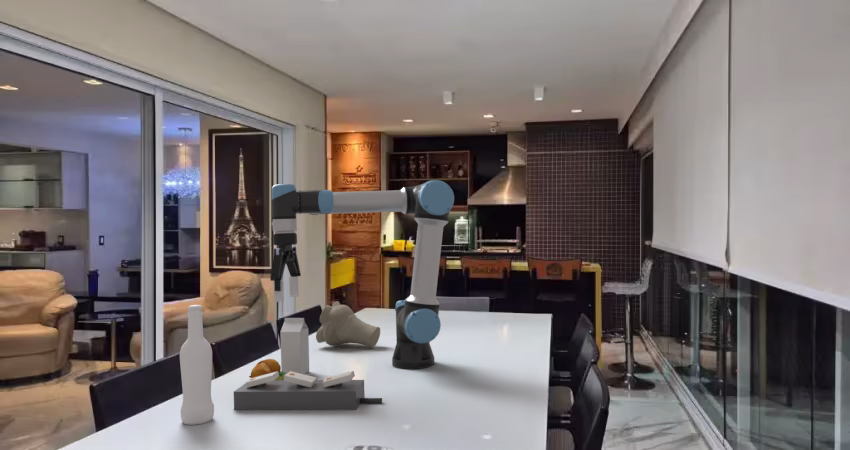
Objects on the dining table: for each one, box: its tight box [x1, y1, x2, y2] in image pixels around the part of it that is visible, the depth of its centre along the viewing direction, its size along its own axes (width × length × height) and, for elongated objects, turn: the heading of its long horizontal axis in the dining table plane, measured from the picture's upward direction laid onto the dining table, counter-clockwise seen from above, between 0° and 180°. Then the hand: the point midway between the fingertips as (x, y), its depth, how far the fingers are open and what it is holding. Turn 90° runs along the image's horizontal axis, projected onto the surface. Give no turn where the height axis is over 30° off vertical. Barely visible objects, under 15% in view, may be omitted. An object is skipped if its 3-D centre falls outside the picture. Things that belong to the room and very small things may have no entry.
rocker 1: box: [244, 371, 279, 388], centre depth 168 cm, size 8×5×2 cm, turn 85°
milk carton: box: [279, 317, 310, 376], centre depth 202 cm, size 7×7×19 cm
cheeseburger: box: [248, 358, 285, 380], centre depth 184 cm, size 10×11×10 cm
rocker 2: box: [284, 371, 318, 387], centre depth 167 cm, size 8×5×2 cm, turn 85°
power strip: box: [233, 379, 383, 411], centre depth 167 cm, size 40×12×6 cm, turn 85°
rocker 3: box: [322, 370, 356, 387], centre depth 166 cm, size 8×5×2 cm, turn 85°
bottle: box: [179, 304, 215, 426], centre depth 154 cm, size 8×8×30 cm
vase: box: [315, 301, 381, 349], centre depth 245 cm, size 22×22×28 cm
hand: (286, 299), depth 190 cm, fingers open, 13 cm apart
